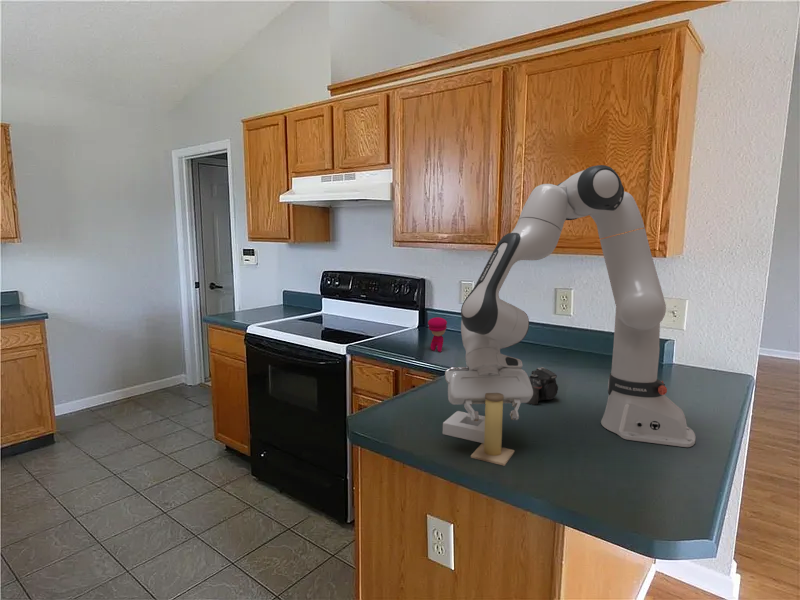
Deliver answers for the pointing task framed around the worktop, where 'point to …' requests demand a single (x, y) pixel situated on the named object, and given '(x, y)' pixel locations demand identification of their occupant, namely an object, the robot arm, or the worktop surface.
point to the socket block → (465, 427)
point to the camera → (543, 385)
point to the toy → (437, 332)
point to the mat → (496, 459)
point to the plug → (493, 423)
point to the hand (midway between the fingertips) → (495, 419)
